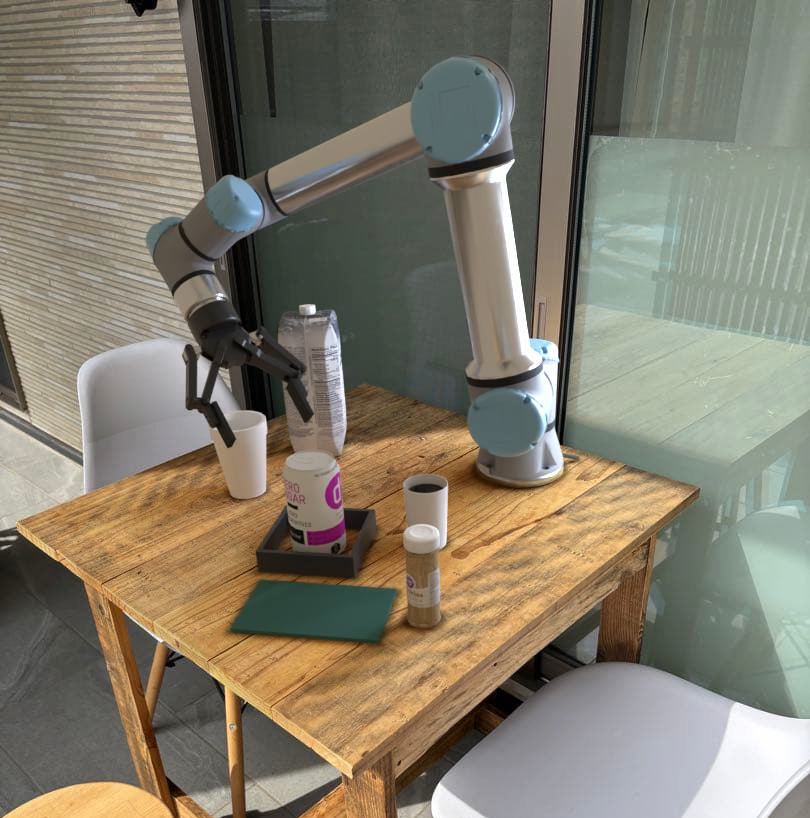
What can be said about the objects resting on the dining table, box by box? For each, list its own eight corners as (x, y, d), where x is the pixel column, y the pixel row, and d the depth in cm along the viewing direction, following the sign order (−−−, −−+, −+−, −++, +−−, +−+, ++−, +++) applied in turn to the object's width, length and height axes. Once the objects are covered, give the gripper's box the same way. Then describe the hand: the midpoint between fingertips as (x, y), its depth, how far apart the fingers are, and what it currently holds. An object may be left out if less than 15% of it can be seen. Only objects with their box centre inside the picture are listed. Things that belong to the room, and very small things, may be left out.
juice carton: (346, 458, 157) (333, 313, 144) (290, 460, 158) (272, 316, 144) (349, 439, 165) (337, 299, 152) (295, 441, 166) (279, 302, 152)
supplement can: (354, 539, 131) (347, 450, 124) (333, 567, 125) (324, 475, 117) (306, 533, 134) (296, 445, 126) (283, 559, 127) (271, 468, 120)
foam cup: (280, 478, 151) (271, 410, 145) (268, 503, 143) (258, 431, 137) (229, 478, 152) (217, 410, 146) (214, 502, 144) (201, 432, 138)
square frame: (376, 528, 134) (375, 509, 132) (355, 578, 122) (353, 557, 120) (288, 523, 137) (286, 504, 135) (258, 572, 124) (255, 551, 123)
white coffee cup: (418, 557, 126) (416, 498, 121) (398, 538, 131) (395, 480, 126) (457, 545, 128) (456, 486, 123) (436, 527, 134) (434, 469, 129)
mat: (397, 592, 118) (396, 588, 118) (378, 644, 108) (378, 640, 108) (260, 582, 122) (260, 579, 122) (230, 632, 112) (229, 628, 111)
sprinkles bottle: (400, 621, 112) (395, 533, 105) (422, 606, 115) (418, 519, 108) (427, 634, 109) (423, 544, 103) (448, 617, 112) (446, 529, 106)
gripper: (271, 310, 140) (331, 419, 137) (128, 344, 127) (191, 466, 124) (284, 282, 134) (347, 397, 131) (135, 315, 121) (202, 443, 118)
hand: (271, 431), depth 128 cm, fingers open, 13 cm apart
